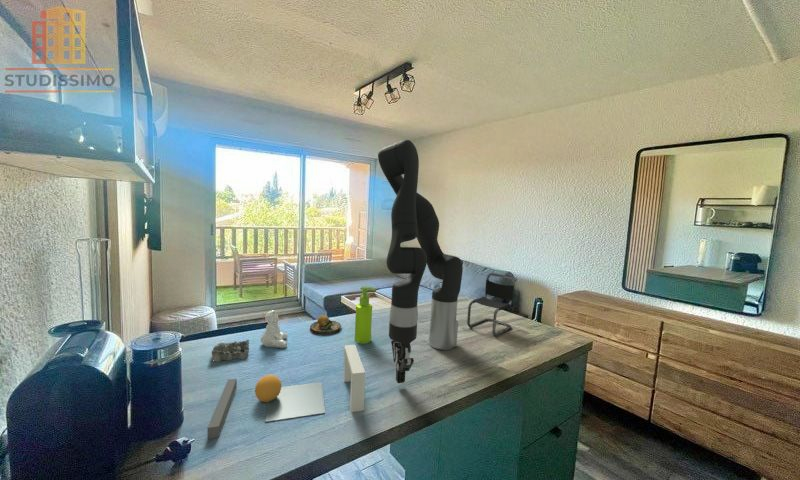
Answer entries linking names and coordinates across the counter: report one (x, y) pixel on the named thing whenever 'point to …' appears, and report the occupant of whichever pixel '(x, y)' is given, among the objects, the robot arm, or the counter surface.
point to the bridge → (354, 377)
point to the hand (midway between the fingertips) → (400, 381)
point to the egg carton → (224, 350)
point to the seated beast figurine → (273, 332)
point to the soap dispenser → (363, 318)
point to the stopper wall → (222, 409)
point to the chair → (498, 292)
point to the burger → (325, 326)
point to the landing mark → (296, 402)
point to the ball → (268, 388)
